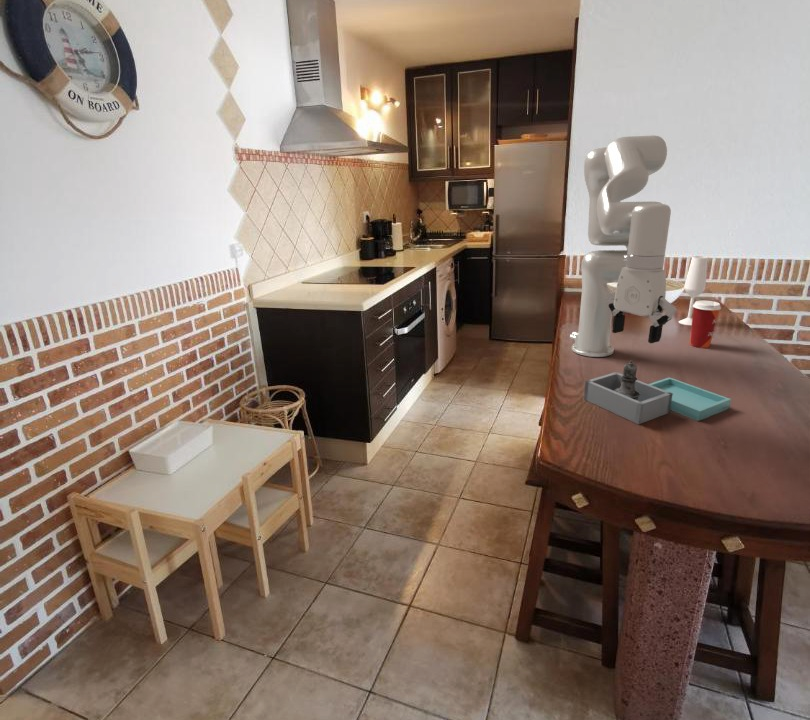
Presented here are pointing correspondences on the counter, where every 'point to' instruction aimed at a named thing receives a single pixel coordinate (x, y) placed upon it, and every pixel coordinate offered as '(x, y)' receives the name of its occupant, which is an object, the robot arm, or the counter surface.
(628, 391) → the grey stone turned piece
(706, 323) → the paper cup
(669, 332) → the counter surface
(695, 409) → the tray
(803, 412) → the counter surface
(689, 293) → the champagne flute
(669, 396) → the deep rectangular frame
